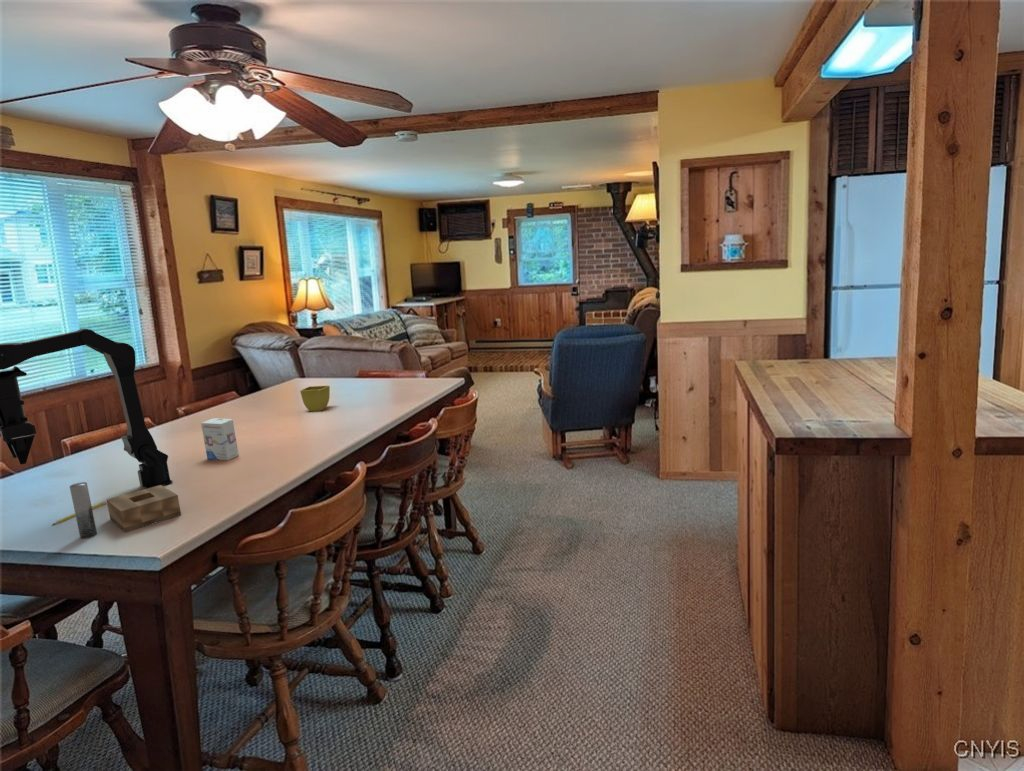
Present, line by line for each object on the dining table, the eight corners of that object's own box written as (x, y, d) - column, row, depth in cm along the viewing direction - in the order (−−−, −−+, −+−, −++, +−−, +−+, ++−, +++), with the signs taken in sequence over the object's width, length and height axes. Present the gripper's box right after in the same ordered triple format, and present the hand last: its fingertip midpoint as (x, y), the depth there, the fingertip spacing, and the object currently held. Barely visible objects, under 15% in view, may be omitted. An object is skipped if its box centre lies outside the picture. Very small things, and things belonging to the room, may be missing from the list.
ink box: (205, 459, 200) (199, 422, 198) (218, 454, 205) (212, 418, 203) (227, 460, 197) (221, 422, 195) (239, 455, 202) (234, 418, 200)
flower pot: (312, 407, 265) (309, 385, 263) (332, 406, 264) (329, 385, 262) (302, 412, 256) (299, 390, 255) (323, 412, 255) (320, 389, 253)
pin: (95, 531, 148) (84, 481, 146) (98, 535, 146) (88, 484, 143) (78, 536, 146) (68, 485, 144) (82, 539, 144) (71, 488, 141)
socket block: (164, 503, 163) (160, 484, 162) (181, 514, 155) (177, 494, 154) (110, 519, 155) (106, 499, 154) (125, 532, 146) (121, 511, 145)
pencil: (50, 527, 154) (49, 523, 153) (104, 504, 166) (103, 501, 166) (53, 527, 153) (52, 523, 153) (107, 504, 166) (106, 501, 166)
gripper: (-43, 399, 155) (-29, 462, 158) (-33, 408, 142) (-17, 477, 145) (14, 391, 162) (27, 451, 165) (29, 398, 149) (43, 464, 152)
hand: (19, 460), depth 157 cm, fingers open, 9 cm apart
